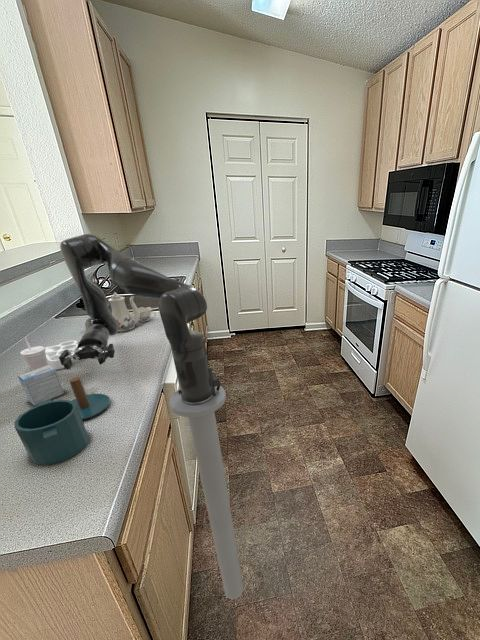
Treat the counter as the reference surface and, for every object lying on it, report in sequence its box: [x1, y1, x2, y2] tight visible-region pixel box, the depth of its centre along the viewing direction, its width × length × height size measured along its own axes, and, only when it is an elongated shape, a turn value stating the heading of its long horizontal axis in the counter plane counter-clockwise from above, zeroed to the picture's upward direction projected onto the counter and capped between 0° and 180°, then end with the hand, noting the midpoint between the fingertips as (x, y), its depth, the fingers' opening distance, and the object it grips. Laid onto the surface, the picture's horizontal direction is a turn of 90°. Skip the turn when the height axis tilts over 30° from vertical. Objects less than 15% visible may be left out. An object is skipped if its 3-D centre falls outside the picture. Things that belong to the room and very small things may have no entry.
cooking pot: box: [14, 399, 90, 466], centre depth 76 cm, size 11×17×10 cm
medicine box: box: [17, 365, 65, 407], centre depth 95 cm, size 8×4×9 cm, turn 145°
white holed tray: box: [45, 340, 79, 370], centre depth 120 cm, size 3×18×15 cm
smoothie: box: [20, 336, 48, 371], centre depth 105 cm, size 6×6×14 cm
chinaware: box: [88, 291, 157, 333], centre depth 146 cm, size 28×17×17 cm, turn 122°
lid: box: [68, 376, 111, 421], centre depth 90 cm, size 12×12×10 cm
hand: (83, 364), depth 97 cm, fingers open, 8 cm apart
